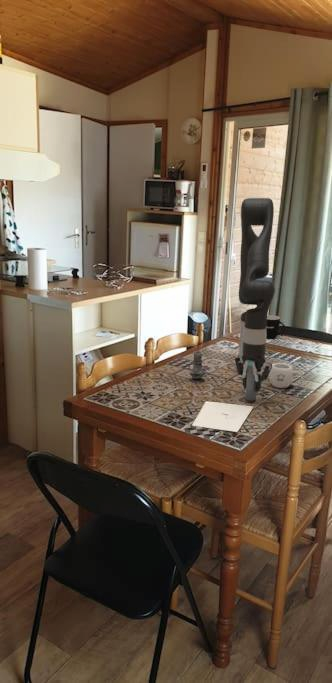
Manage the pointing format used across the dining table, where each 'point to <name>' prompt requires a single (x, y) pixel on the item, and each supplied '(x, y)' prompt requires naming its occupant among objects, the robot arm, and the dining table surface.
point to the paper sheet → (222, 416)
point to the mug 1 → (273, 327)
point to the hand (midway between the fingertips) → (251, 389)
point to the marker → (250, 382)
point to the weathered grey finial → (197, 368)
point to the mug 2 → (282, 375)
